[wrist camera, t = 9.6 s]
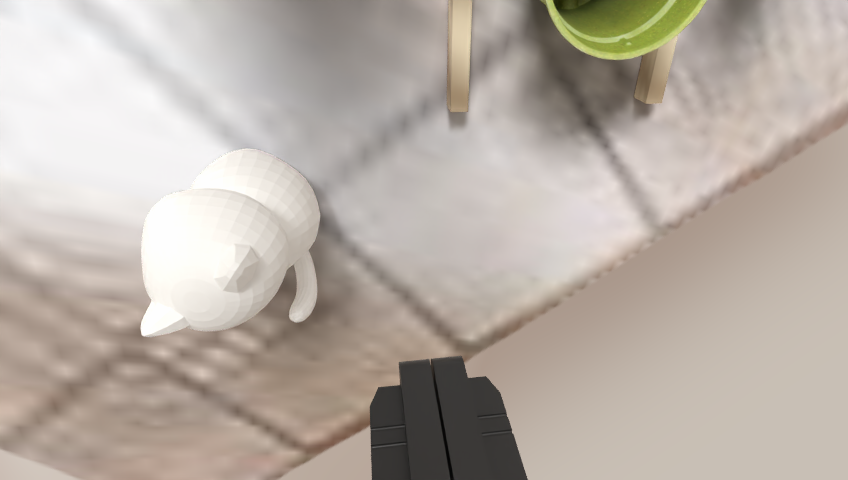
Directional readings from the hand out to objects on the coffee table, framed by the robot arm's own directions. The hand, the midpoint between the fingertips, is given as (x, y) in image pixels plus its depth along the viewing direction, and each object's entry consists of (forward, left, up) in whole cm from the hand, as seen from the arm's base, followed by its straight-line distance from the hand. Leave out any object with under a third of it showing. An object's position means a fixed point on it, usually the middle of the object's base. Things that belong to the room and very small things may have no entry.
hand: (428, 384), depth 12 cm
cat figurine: (+8, -9, -27) cm, 30 cm away
